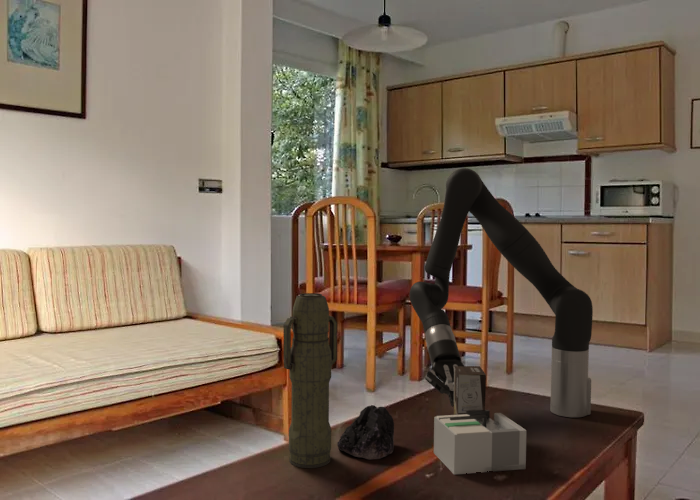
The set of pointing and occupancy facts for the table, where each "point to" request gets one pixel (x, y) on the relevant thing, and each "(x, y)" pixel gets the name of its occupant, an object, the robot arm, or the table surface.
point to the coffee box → (469, 389)
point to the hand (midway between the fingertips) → (458, 407)
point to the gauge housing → (479, 445)
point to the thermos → (310, 379)
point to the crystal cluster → (369, 434)
